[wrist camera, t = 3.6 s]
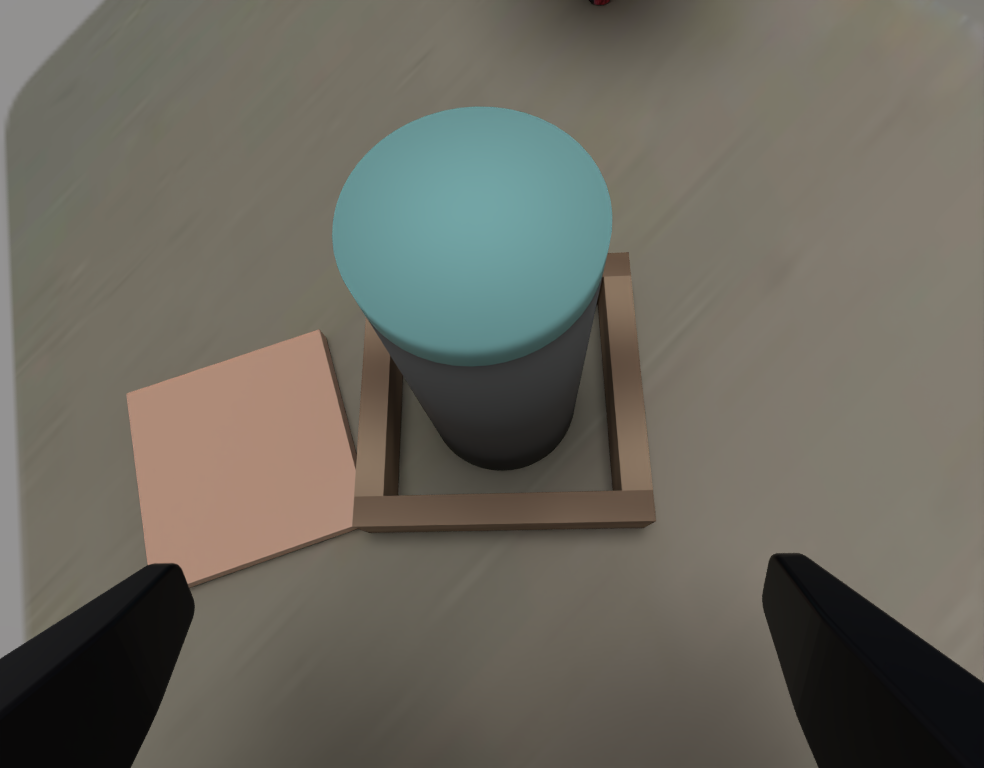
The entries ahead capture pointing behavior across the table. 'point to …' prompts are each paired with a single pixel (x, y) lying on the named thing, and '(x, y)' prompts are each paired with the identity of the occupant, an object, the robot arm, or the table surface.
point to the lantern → (599, 2)
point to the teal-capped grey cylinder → (480, 272)
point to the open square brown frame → (513, 511)
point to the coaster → (244, 459)
